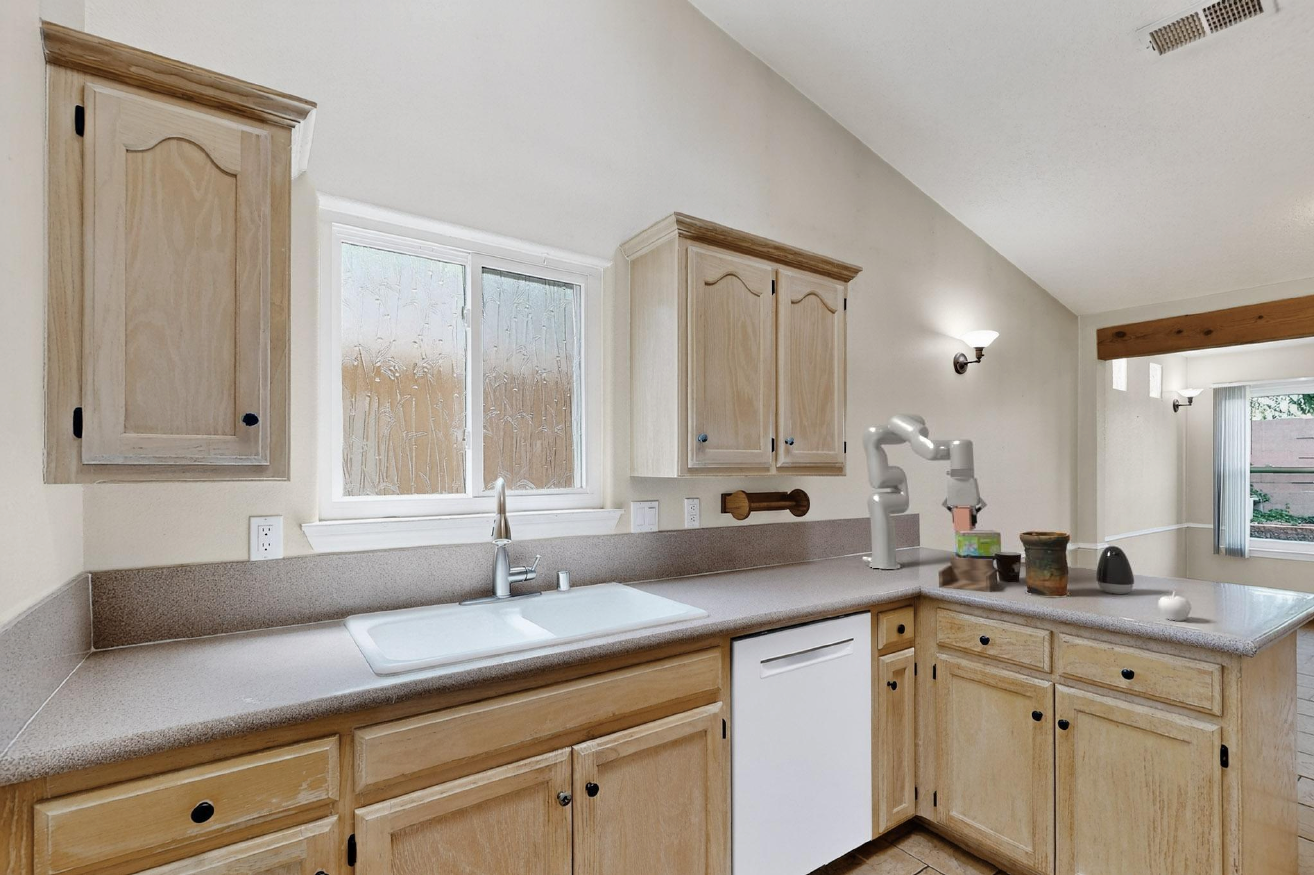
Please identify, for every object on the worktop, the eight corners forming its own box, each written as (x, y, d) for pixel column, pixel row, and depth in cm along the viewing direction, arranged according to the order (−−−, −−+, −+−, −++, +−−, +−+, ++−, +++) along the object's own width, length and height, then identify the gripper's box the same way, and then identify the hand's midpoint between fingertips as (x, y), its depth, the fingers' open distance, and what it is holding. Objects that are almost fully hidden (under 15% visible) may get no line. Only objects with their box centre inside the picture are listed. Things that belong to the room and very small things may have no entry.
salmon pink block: (954, 530, 222) (953, 508, 223) (960, 527, 230) (959, 506, 231) (969, 531, 219) (968, 509, 220) (975, 528, 227) (974, 507, 228)
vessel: (1085, 596, 202) (1080, 534, 203) (1043, 599, 201) (1038, 536, 202) (1054, 588, 217) (1049, 529, 217) (1014, 591, 216) (1009, 532, 216)
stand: (939, 587, 223) (938, 562, 224) (949, 580, 235) (948, 557, 235) (989, 591, 214) (988, 566, 214) (997, 584, 225) (996, 560, 226)
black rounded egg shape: (1102, 595, 205) (1099, 547, 205) (1092, 588, 214) (1090, 543, 215) (1140, 596, 201) (1137, 548, 202) (1128, 590, 211) (1126, 544, 211)
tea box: (963, 568, 259) (961, 532, 260) (955, 564, 269) (954, 529, 270) (1002, 568, 257) (1000, 531, 258) (993, 564, 267) (992, 529, 267)
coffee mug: (1016, 578, 235) (1014, 551, 236) (1027, 582, 227) (1025, 554, 227) (983, 578, 236) (982, 551, 237) (993, 583, 228) (991, 555, 228)
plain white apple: (1164, 621, 171) (1163, 592, 171) (1154, 615, 178) (1153, 586, 178) (1196, 623, 168) (1195, 593, 169) (1185, 617, 175) (1183, 588, 175)
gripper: (934, 474, 228) (936, 525, 227) (987, 474, 217) (989, 527, 217) (939, 474, 234) (942, 523, 233) (991, 473, 223) (993, 525, 223)
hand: (965, 524), depth 225 cm, fingers closed on salmon pink block, 4 cm apart
